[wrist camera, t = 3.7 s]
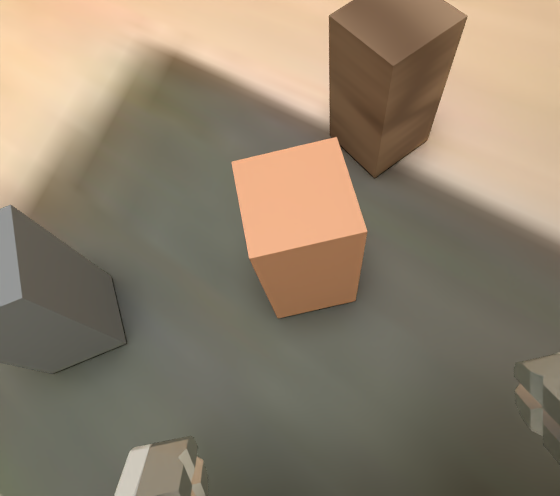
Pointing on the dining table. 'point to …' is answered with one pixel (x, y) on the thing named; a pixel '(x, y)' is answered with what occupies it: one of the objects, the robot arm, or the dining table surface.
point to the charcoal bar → (51, 300)
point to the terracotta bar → (302, 226)
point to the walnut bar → (389, 75)
